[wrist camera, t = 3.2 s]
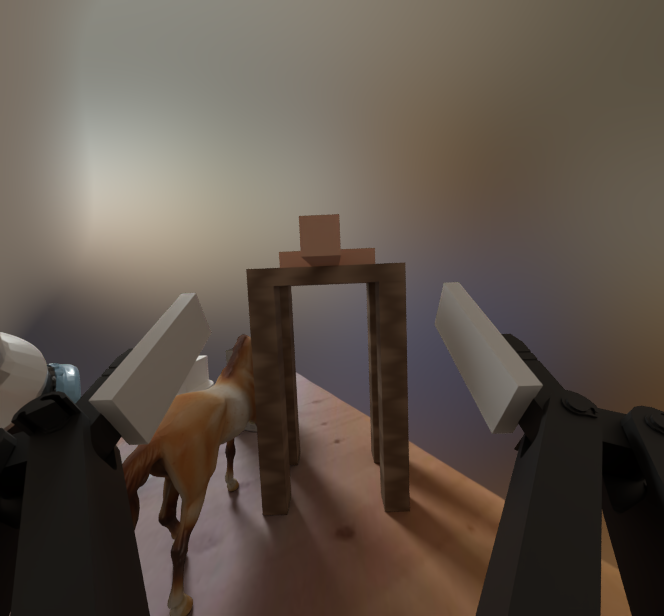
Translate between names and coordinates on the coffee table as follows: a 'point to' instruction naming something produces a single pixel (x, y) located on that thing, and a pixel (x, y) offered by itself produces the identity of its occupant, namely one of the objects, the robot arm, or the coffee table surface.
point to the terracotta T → (323, 245)
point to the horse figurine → (193, 455)
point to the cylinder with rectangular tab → (197, 377)
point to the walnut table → (280, 374)
